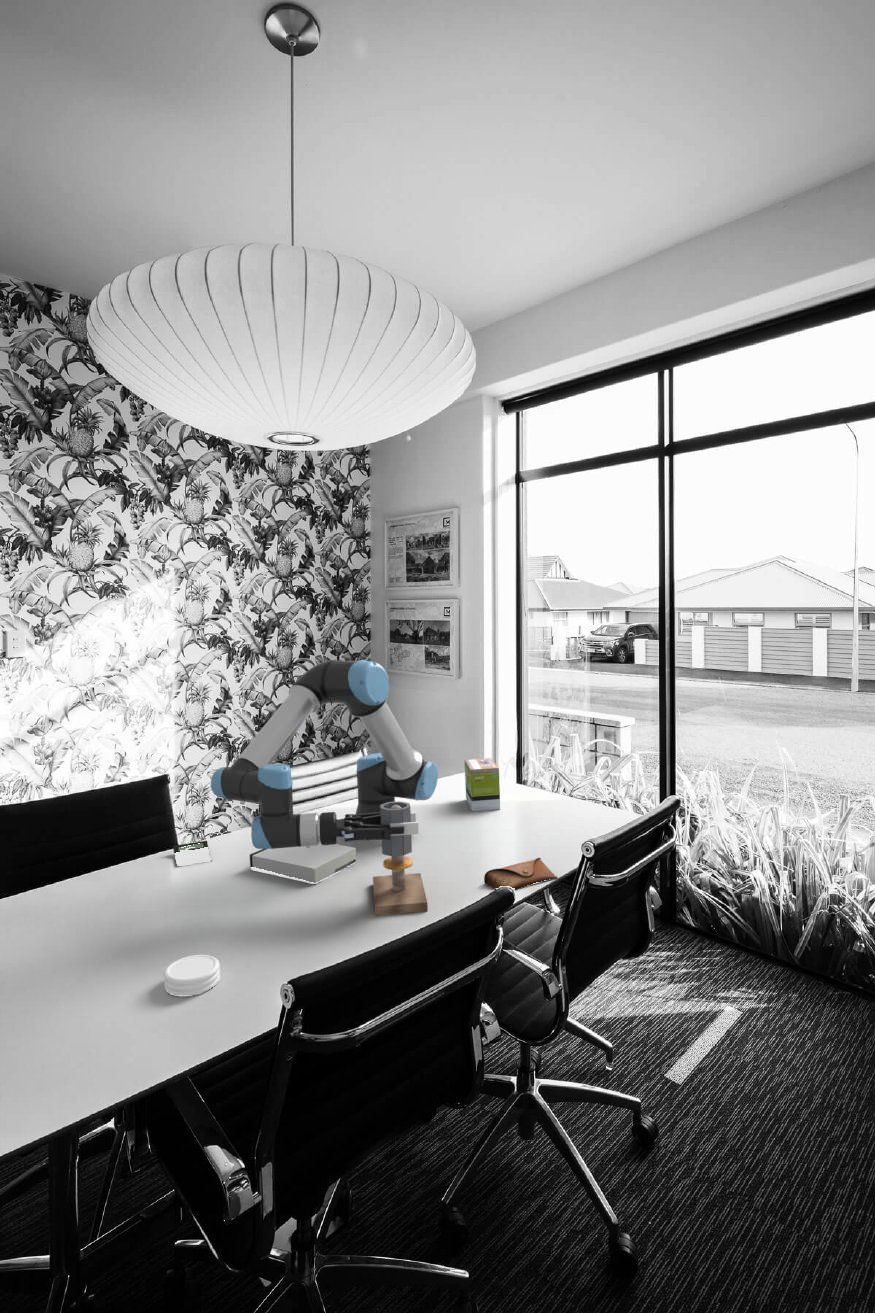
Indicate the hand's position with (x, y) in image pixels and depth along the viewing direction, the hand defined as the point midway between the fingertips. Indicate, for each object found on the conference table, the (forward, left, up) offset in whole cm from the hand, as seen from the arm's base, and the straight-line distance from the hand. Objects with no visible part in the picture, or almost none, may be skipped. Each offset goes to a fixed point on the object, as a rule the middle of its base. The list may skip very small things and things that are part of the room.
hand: (416, 823), depth 171 cm
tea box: (-31, +72, -18) cm, 80 cm away
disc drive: (-38, -3, -19) cm, 43 cm away
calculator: (-71, -16, -18) cm, 75 cm away
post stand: (-3, -3, -18) cm, 19 cm away
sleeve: (-3, -3, -6) cm, 8 cm away
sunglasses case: (+15, +22, -19) cm, 33 cm away
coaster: (-9, -55, -18) cm, 59 cm away
